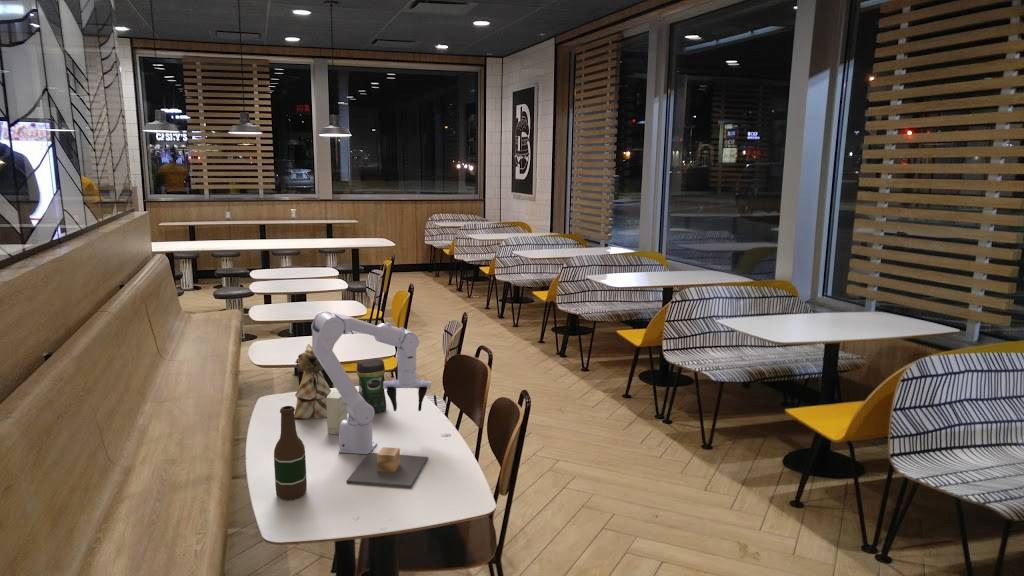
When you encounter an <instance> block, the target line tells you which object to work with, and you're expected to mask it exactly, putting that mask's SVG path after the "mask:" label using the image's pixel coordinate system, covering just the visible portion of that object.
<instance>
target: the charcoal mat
mask: <svg viewBox="0 0 1024 576" xmlns="http://www.w3.org/2000/svg"><path fill="white" fill-rule="evenodd" d="M378 453H379V452H370V453H368V454H365V455H366V456H365V457H364V458H363V459H362V460H361V462H360V463H359V464H358V465H357V467H356V468H355V469H354V470H353V472H351V474H350V476H349V477H348V478H347V479H346V484H351V483H352V484H353V485H365V486H380V487H391V488H394V487H395V488H404V489H405V488H406V489H412V487H413V485H414V484H415V482H416V480H417V479H418V477H419V475H420V474H421V472H422V471H423V468H424V467H423V466H425V464H426V463H427V461H428V460H427V459H429V458H428V456H420V455H408V454H400V465H399V467H398V468H397V470H396V471H395V472H382V471H377V454H378Z"/></svg>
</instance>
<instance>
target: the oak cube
mask: <svg viewBox="0 0 1024 576" xmlns="http://www.w3.org/2000/svg"><path fill="white" fill-rule="evenodd" d="M400 451H401V448H400V447H387V446H382V448H380V450H379V451H378V452H377V453H378V454H377V471H382V472H395V471H396V470H397V468H398V467H399V465H400V455H401V454H400V453H401V452H400Z"/></svg>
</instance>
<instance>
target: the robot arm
mask: <svg viewBox="0 0 1024 576" xmlns="http://www.w3.org/2000/svg"><path fill="white" fill-rule="evenodd" d="M310 326H311V327H310V329H311V336H312V337H311V338H312V339H311V347H312V350H313V353H314V354H315V356H316V357H317V359H318V360H319V362H320V364H321V365H322V367H323V368H324V369H323V371H324V372H325V373H326V375H327V376H328V377H329V379H330V381H331V382H332V384H333V385H334V387H335V389H336V391H337V392H339V393H340V395H341V396H342V400H343V402H344V405H345V411H346V412H347V420H342V422H341V424H340V427H339V434H338V440H339V443H338V444H339V445H338V446H339V449H338V452H339V453H344V454H357V455H358V454H360V455H367V454H368V453H372V451H373V450H374V448H375V447H376V446H377V445H378V442H376V441H373V419H374V418H375V414H376V413H375V411H374V408H373V407H372V406H371V405H370V404H368V403H367V402H366V401H365V400H364V399H363V397H362V396H361V395H360V394H359V390H357V388H356V386H355V384H354V383H353V381H352V379H351V378H350V376H349V374H348V373H347V372H346V369H345V368H344V367H343V365H342V364H341V362H340V361H339V358H338V357H337V356H336V353H335V352H334V351H333V349H334V347H335V344H337V342H338V340H339V339H340V338H341V337H342V335H343V334H344V335H348V334H349V332H352V331H353V332H356V333H361V334H365V335H367V336H368V335H369V336H373V337H374V339H375V341H376V342H379V343H382V344H385V345H388V346H392V347H397V354H396V355H397V358H396V359H397V379H393V380H383V389H384V390H385V389H386V395H387V396H388V397H389V399H390V402H391V405H392V409H393V412H396V411H397V409H398V405H397V404H398V402H397V389H418V390H417V393H418V408H417V409H418V410H417V411H418V412H421V411H422V405H423V401H424V398H425V396H426V393H427V392H428V390H430V389H431V386H432V380H423V379H422V380H421V379H417V348H418V347H419V345H420V340H419V338H418V336H417V334H416V333H414V332H412V331H410V330H409V329H406V328H405V327H403V326H402V327H401V326H400V327H397V326H393V325H392V323H391V322H388V321H386V322H385V323H383V322H380V323H379V324H377V325H375V324H373V323H370V322H366V321H365V320H360V319H358V318H355V317H352V316H349V315H345V314H340V313H335V312H333V313H332V312H330V311H325V310H324V311H320V312H318V313H317V314H316V315H315V316H314V318H313V321H312V322H311V325H310Z"/></svg>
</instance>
